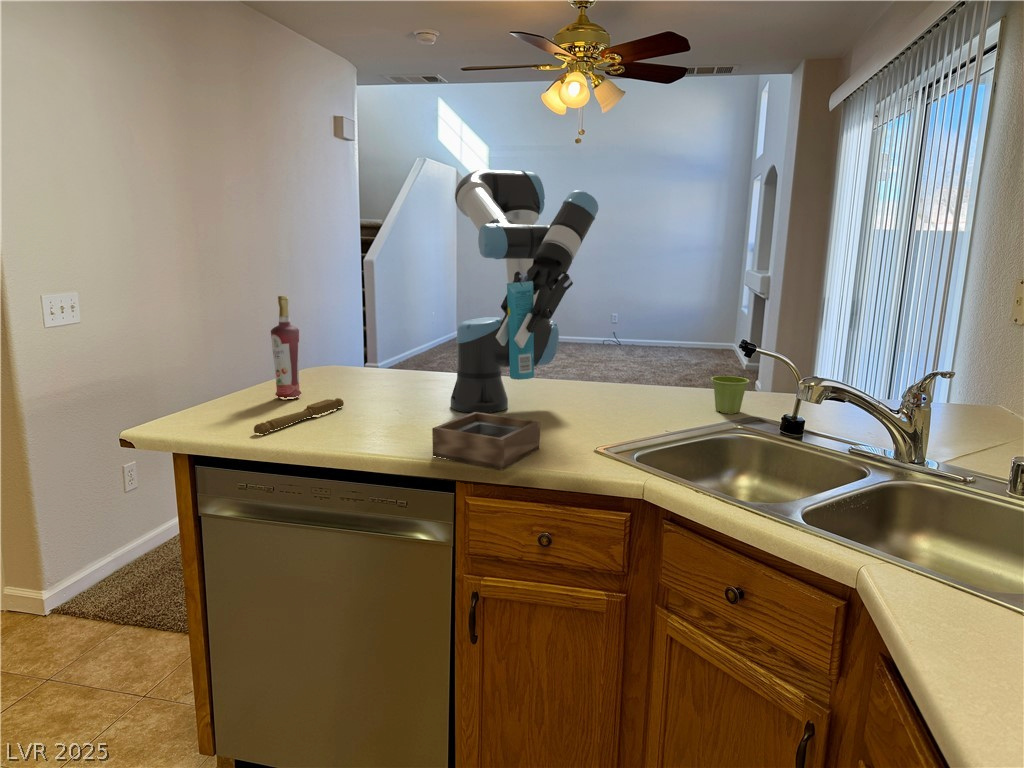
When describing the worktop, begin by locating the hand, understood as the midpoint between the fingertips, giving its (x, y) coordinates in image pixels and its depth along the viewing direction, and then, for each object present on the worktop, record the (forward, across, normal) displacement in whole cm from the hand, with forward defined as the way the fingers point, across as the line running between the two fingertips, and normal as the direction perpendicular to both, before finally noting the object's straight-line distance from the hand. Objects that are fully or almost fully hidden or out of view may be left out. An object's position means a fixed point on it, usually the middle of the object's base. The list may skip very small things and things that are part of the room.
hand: (509, 342), depth 132 cm
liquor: (+15, +79, -20) cm, 83 cm away
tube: (+3, 0, -8) cm, 9 cm away
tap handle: (+23, +56, -11) cm, 62 cm away
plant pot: (-29, -21, -66) cm, 75 cm away
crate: (+18, +5, -15) cm, 24 cm away
